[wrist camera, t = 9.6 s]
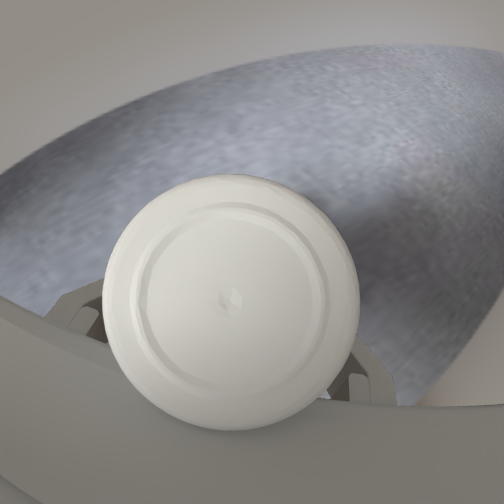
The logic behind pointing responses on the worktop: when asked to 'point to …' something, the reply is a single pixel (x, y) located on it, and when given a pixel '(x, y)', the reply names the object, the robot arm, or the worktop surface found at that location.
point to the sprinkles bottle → (231, 302)
